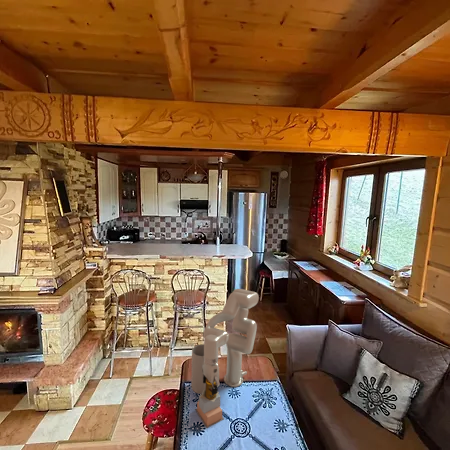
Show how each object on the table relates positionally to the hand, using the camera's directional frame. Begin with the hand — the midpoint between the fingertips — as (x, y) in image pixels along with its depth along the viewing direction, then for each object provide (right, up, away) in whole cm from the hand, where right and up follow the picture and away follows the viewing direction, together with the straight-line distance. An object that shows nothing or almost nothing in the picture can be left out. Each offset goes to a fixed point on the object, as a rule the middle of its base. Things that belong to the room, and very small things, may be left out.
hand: (210, 387), depth 145 cm
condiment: (0, -5, +1) cm, 5 cm away
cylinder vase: (-7, -14, +23) cm, 28 cm away
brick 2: (-1, -16, +2) cm, 16 cm away
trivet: (-1, -17, +2) cm, 17 cm away
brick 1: (0, -11, +1) cm, 11 cm away
